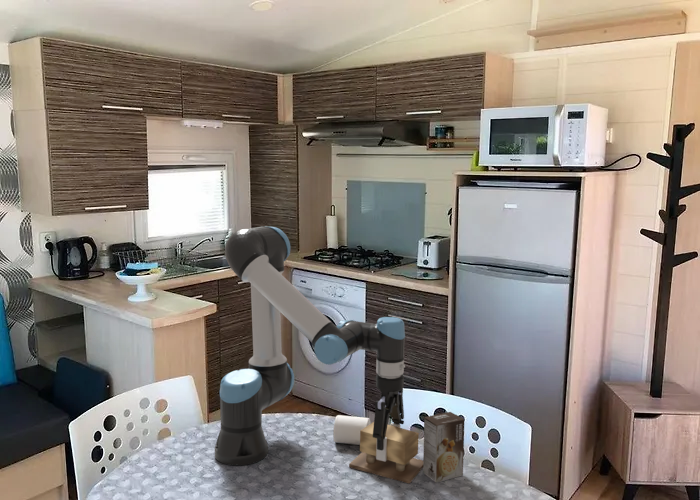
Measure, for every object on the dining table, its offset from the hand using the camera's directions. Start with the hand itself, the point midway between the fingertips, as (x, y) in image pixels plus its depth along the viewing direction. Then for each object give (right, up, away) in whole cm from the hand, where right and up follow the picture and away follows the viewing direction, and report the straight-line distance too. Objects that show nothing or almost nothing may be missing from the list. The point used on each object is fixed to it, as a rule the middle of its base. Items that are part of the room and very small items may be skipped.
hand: (388, 452), depth 163 cm
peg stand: (0, -4, +1) cm, 4 cm away
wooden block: (0, 0, 0) cm, 0 cm away
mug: (-10, -2, +17) cm, 19 cm away
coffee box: (+15, -5, -4) cm, 16 cm away
